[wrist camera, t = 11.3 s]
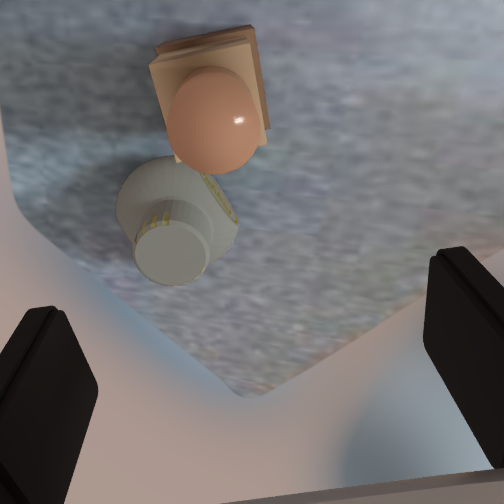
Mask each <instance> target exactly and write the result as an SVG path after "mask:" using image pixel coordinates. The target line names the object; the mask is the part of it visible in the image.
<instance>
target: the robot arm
mask: <svg viewBox="0 0 504 504" xmlns="http://www.w3.org/2000/svg"><path fill="white" fill-rule="evenodd" d="M423 342H424V346H425V349H426V351H427V353H428V355H429V357H430V358H431V360H432V362H433V364H434V365H435V367H436V369H437V371H438V373H439V374H440V376H441V378H442V379H443V381H444V383H445V385H446V386H447V388H448V390H449V392H450V394H451V395H452V397H453V399H454V401H455V402H456V404H457V406H458V408H459V410H460V411H461V413H462V415H463V416H464V418H465V420H466V422H467V424H468V425H469V427H470V429H471V431H472V432H473V434H474V436H475V437H476V439H477V441H478V443H479V445H480V446H481V448H482V450H483V452H484V454H485V455H486V457H487V459H488V460H489V462H490V464H491V465H492V466H493V468H494V469H492V470H483V471H475V472H465V473H456V474H447V475H438V476H430V477H422V478H414V479H407V480H399V481H391V482H383V483H375V484H368V485H359V486H352V487H344V488H336V489H328V490H322V491H313V492H305V493H298V494H290V495H283V496H275V497H268V498H260V499H252V500H245V501H237V502H230V503H223V504H504V287H503V286H502V285H501V284H500V283H499V282H498V281H497V280H496V279H495V278H494V277H493V276H492V275H491V274H490V273H489V272H488V271H487V270H486V268H485V267H484V266H483V265H482V264H481V263H480V262H479V261H478V260H477V259H476V258H475V257H474V256H473V255H472V254H471V253H470V252H469V251H468V250H467V249H466V248H465V247H463V246H460V247H453V248H446V249H440V250H438V252H437V254H436V256H432V257H431V259H430V263H429V275H428V286H427V297H426V308H425V321H424V331H423ZM97 397H98V385H97V382H96V380H95V377H94V375H93V373H92V371H91V369H90V367H89V364H88V362H87V360H86V358H85V356H84V353H83V351H82V349H81V347H80V345H79V343H78V340H77V338H76V336H75V334H74V332H73V330H72V327H71V326H70V323H69V321H68V319H67V316H66V314H65V313H64V312H63V311H62V310H58V309H57V308H56V307H55V306H46V307H39V308H32V309H29V310H28V311H27V312H26V313H25V315H24V317H23V318H22V320H21V321H20V323H19V325H18V326H17V328H16V329H15V331H14V333H13V334H12V336H11V337H10V339H9V341H8V342H7V344H6V345H5V347H4V349H3V350H2V352H1V353H0V504H64V501H65V498H66V495H67V492H68V489H69V486H70V482H71V479H72V476H73V473H74V470H75V466H76V463H77V460H78V457H79V454H80V451H81V448H82V444H83V441H84V438H85V435H86V432H87V429H88V425H89V422H90V419H91V416H92V413H93V409H94V407H95V403H96V400H97Z"/></svg>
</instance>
